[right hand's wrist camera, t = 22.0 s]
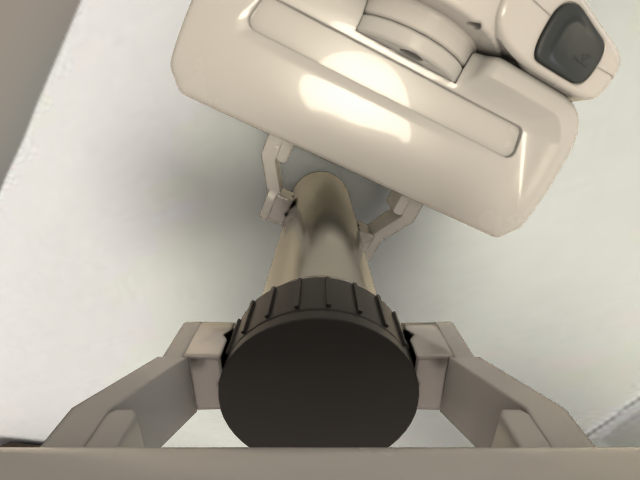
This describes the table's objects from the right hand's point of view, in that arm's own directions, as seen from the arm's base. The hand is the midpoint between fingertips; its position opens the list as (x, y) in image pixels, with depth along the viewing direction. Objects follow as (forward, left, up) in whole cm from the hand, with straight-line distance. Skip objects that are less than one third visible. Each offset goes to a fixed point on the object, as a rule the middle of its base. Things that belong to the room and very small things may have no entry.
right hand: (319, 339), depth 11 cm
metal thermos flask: (0, 0, -16) cm, 16 cm away
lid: (0, 0, +2) cm, 2 cm away
